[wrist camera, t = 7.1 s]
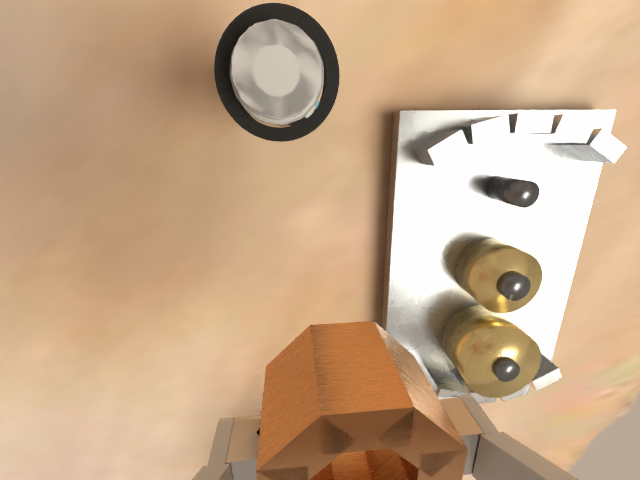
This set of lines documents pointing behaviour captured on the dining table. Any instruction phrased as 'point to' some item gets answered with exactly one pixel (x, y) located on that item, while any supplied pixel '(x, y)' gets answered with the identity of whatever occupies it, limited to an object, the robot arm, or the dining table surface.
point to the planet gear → (353, 411)
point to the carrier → (488, 240)
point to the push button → (276, 71)
